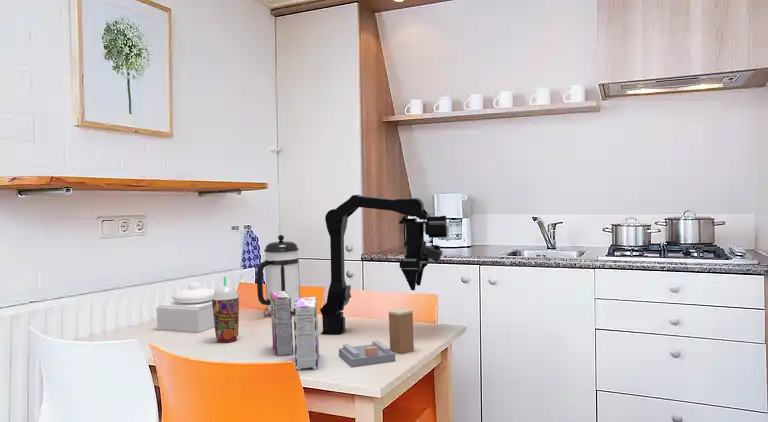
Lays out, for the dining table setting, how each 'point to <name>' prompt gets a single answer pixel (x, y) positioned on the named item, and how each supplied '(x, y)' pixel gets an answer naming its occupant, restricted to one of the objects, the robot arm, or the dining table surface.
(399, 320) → the cream-topped square box
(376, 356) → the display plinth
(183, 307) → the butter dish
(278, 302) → the candy bar box
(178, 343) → the dining table surface
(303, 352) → the candy box
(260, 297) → the coffee press
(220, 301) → the smoothie
